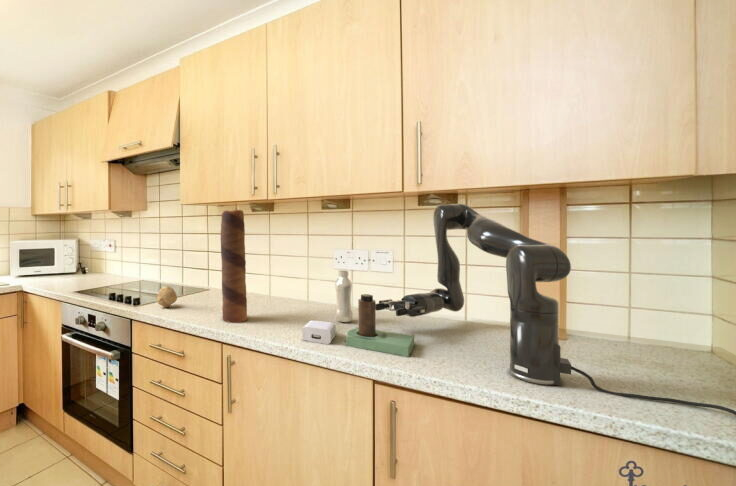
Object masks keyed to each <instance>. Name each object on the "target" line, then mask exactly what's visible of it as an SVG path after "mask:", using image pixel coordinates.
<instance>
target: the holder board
mask: <svg viewBox="0 0 736 486" xmlns="http://www.w3.org/2000/svg"><path fill="white" fill-rule="evenodd" d="M346 333H347V334H346V336H345V346H346V347H347V346H348V347H353V348H357V349H363V350H367V351H368V350H369V351H374V352H379V353H380V352H381V353H385V354H390V355H396V356H400V357H401V356H402V357H406V358H408V357H410V356H411V355H410V354H411V353H412V351H413V349H414V347H415V345H416V344H415V342H416V341H415V335H411V334H406V333H405V334H404V333H399V332H391V331H386V330H385V331H384V330H380V329H379V330H378V329H376V337H364V336H360V335H359V326H356V327H355V328H352V329H349V330H347V331H346Z"/></svg>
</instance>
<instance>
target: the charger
mask: <svg viewBox="0 0 736 486" xmlns="http://www.w3.org/2000/svg"><path fill="white" fill-rule="evenodd" d="M301 330H302V333H301V334H302V336H301V337H302V340H303V341H305V342H310V343H317V344H318V343H319V344H325V345H327V344H328V345H329V344H331V342H332V341H333V340H334V338H335V336H336V335H337V334H336V333H337V327H336V324H335V323H334V322H330V321H321V320H309V321H308V322H307V323H306V324H305V325H304V326H303V327H302V329H301Z"/></svg>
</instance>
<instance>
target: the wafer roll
mask: <svg viewBox="0 0 736 486" xmlns="http://www.w3.org/2000/svg"><path fill="white" fill-rule="evenodd" d="M245 235H246V229H245V215H244V211H243V210H242V209H232V210H228V209H224V210H223V211H222V213H221V222H220V258H221V296H222V320H223V321H225V322H228V323H241V322H246V321H247V320H248V298H247V283H246V277H247V276H246V273H247V272H246V271H247V269H246V265H247V264H246V263H247V261H246V245H245V244H246V243H245V237H246V236H245Z"/></svg>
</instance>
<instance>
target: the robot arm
mask: <svg viewBox="0 0 736 486" xmlns="http://www.w3.org/2000/svg"><path fill="white" fill-rule="evenodd" d="M432 216H433V217H432V219H433V220H432V221H433V230H434V239H435V245H436V254H437V275H436V276H437V277H436V278H437V283H438V284H440V285H441V286H443V287H445V288H441V287H440V288H439V287H438V288H434V289H432V290H431V291H429V292H425V293H423V292H421V293H419V292H418V293H413V294H412V293H411V294H406V295H404V296H403V297H402V298H401V299H397V300H393V299H391V298H390V299H383V300H378V303H376V311H384V310H387V311H389V312H395V316H397V317H402V316H408V317H411V318H416V317H419V316H424V315H428V314H431V313H436V312H439V311H441V310H443V309H445V310H448V311H450V312H455V313H456V312H459V311H461V310H462V309H463V308H464V305H465V295H464V292H463V289H462V285H461V281H460V278H461V277H460V276H461V263H460V259H459V257H458V255H457V253H456V252H455V250H454V248H453V247H452V246H451V244H450V242H449V240H448V231H454V230H456V231H457V230H465V231H466V237H467V240H468V241H469V242H470V243H471V244H472V245H473V246H475V247H476V248H478V249H479V250H480V251H483V252H485V253H487V254H490V255H492V256H496V257H500V258H503V259H504V258H505V271H506V289H507V290H506V291H507V295H508V299H509V374H510V375H511V376H513V377H515V378H516V379H519V380H520V381H521V380H522V381H525V382H528V383H531V384H537V385H542V386H543V385H544V386H559V387H560V386H561V374H565V375H572V371H573V372H576V373H578V374H581V375H582V376H584V377H585V378H587V379H588V381H589V382H590V384H591V386H592V387H593V388H594V389H596V390H597V391H598V392H601V393H605V394H609V395H614V396H619V397H623V398H624V397H625V398H635V399H643V400H648V401H649V400H650V401H656V402H657V401H658V402H669V403H675V404H681V405H687V406H692V407H693V406H694V407H700V408H701V407H702V408H709V409H716V410H721V411H724V412H727V413H730V414H731V415H734V416H736V410H735V409H732V408H729V407H727V406H722V405H718V404H712V403H704V402H695V401H688V400H681V399H677V398H669V397H661V396H651V395H643V394H637V393H627V392H626V393H625V392H617V391H611V390H607V389H604V388H601V387H600V386H598V385H597V384H596V382H595V380H594V379H593V377H592V376H590V375H589V374H588V373H586V372H585V371H583V370H581V369H579V368H577V367H574V366H572V364H571V362H570V360H569V359H568V358H565V357H561V345H560V343H559V342H560V341H559V339H560V338H559V337H560V335H559V334H560V333H559V332H560V331H559V330H560V329H559V328H560V327H559V326H560V325H559V323H560V322H559V321H560V318H559V316H560V315H559V314H560V313H559V312H560V304H559V301H558V300H557V299H556V298H554V297H551V296H547V295H544V294H542V293H541V292H539V291H538V289H537V283H554V282H559V281H562V280H564V279H565V278H567V277H568V276H569V275H570V273H571V269H572V264H571V260H570V258H569V257H568V255H567V254H566V253H565V252H564V251H563V249H561V248H560V247H557V246H555V245H554V244H553V245H552V244H549V243H548V242H547V243H546V242H543V241H540V240H537V239H534V238H531V237H529V236H526V235H525V234H523V233H520V232H518V231H516V230H514V229H512V228H510V227H508V226H505V225H504V224H502V223H501V222H498V221H496V220H493V219H491V218H489V217H487V216H485V215H483V214H481V213H479V212H478V211H476V210H475V209H474V208H472V207H471V206H469V205H467V204H464V203H450V204H439V205H437V206H435V208H434V210H433V215H432ZM392 307H393V308H392Z"/></svg>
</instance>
